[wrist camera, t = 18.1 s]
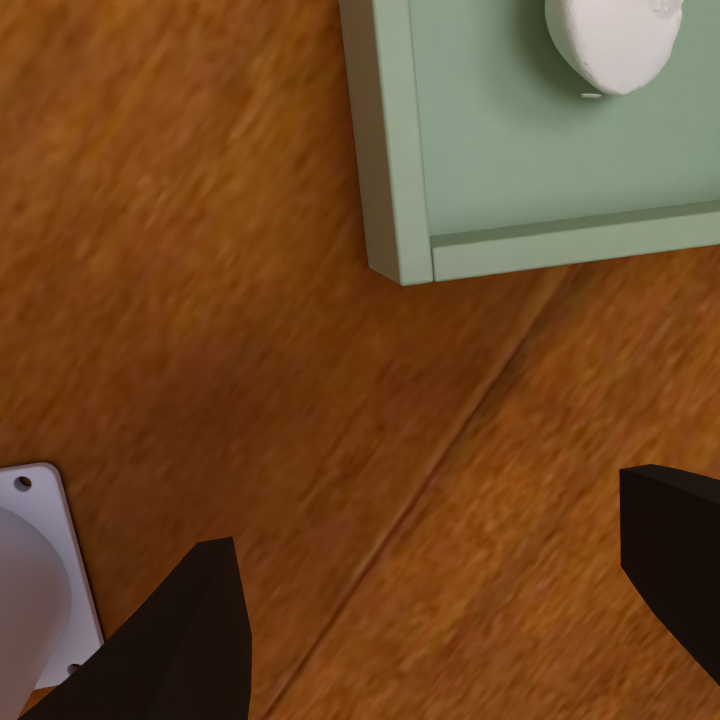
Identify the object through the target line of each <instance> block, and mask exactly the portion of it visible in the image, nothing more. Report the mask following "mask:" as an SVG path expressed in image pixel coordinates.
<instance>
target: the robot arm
mask: <svg viewBox="0 0 720 720" xmlns="http://www.w3.org/2000/svg"><path fill="white" fill-rule="evenodd" d="M619 473H620V537H621V567H622V568H623V570H624V571H625V573H626V574H627V576H628V577H629V579H630V580H631V582H632V583H633V585H634V586H635V588H636V589H637V591H638V592H639V594H640V595H641V596H642V598H643V599H644V601H645V602H646V603H647V605H648V606H649V607H650V609H651V610H652V612H653V613H654V614H655V615H656V616H657V617H658V619H659V620H660V621H661V622H662V623H663V624H664V625H665V627H666V628H667V629H668V630H669V631H670V632H671V633H672V634H673V635H674V637H675V638H676V639H677V640H678V641H679V642H680V643H681V644H682V645H683V647H684V648H685V649H686V650H687V651H688V652H689V653H690V654H691V655H692V656H693V657H694V659H695V660H696V661H697V662H698V663H699V664H700V665H701V666H702V667H703V668H704V669H705V671H706V672H707V673H708V674H709V675H710V676H711V677H712V678H713V679H714V680H715V681H716V683H717V684H718V685H719V686H720V480H717V479H713V478H710V477H706V476H702V475H699V474H695V473H691V472H687V471H683V470H679V469H675V468H670V467H665V466H660V465H653V464H648V465H642V466H637V467H631V468H625V469H619ZM20 476H25V477H27V478H29V479H30V481H31V483H32V484H31V486H25V485H23V484H22V483H21V482H20V480H19V477H20ZM72 664H79V665H81V666H80V667H79V668H76V667H74V666H73V665H72ZM251 670H252V634H251V629H250V624H249V619H248V614H247V609H246V604H245V599H244V593H243V588H242V583H241V578H240V573H239V568H238V563H237V558H236V553H235V548H234V543H233V538H232V537H227V538H221V539H215V540H210V541H204V542H198V543H197V544H196V545H195V546H194V547H193V548H192V549H191V550H190V551H189V552H188V553H187V554H186V555H185V557H184V558H183V559H182V560H181V561H180V562H179V564H178V565H177V566H176V567H175V568H174V569H173V570H172V572H171V573H170V574H169V575H168V576H167V577H166V579H165V580H164V581H163V582H162V583H161V584H160V585H159V586H158V587H157V589H156V590H155V591H154V592H153V593H152V594H151V595H150V596H149V597H148V599H147V600H146V601H145V602H144V603H143V604H142V605H141V606H140V607H139V609H138V610H137V611H136V612H135V613H134V614H133V615H132V616H131V617H130V618H129V619H128V620H127V621H126V622H125V623H124V624H123V625H122V626H121V627H120V628H119V629H118V630H117V631H116V632H115V633H114V634H113V635H112V636H111V637H110V638H109V639H108V640H107V641H106V642H105V643H104V640H103V636H102V632H101V629H100V625H99V621H98V617H97V613H96V610H95V606H94V602H93V598H92V594H91V591H90V587H89V583H88V579H87V576H86V572H85V568H84V564H83V560H82V557H81V553H80V549H79V545H78V541H77V538H76V534H75V530H74V526H73V523H72V519H71V515H70V511H69V507H68V504H67V500H66V496H65V492H64V488H63V485H62V481H61V477H60V474H59V472H58V470H57V468H55V467H54V466H53V465H51V464H49V463H44V462H39V463H33V464H26V465H19V466H13V467H6V468H0V720H247V719H248V712H249V704H250V696H251ZM56 685H58V686H57V687H56V688H55V689H54V690H53V691H51V692H50V693H49V694H48V695H47V696H45V697H44V698H43V699H42V700H41V701H39V702H38V703H37V704H36V705H35V706H33V707H32V708H31V709H30V710H28V711H27V712H26V713H25V714H23V715H22V716H21V717H20V718H18V717H19V715H20V713H21V711H22V710H23V708H24V706H25V704H26V702H27V700H28V699H29V697H30V695H31V693H32V691H33V690H34V689H40V688H45V687H51V686H56Z"/></svg>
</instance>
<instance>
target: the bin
mask: <svg viewBox="0 0 720 720" xmlns="http://www.w3.org/2000/svg"><path fill="white" fill-rule="evenodd" d="M339 9H340V17H341V26H342V35H343V44H344V53H345V62H346V71H347V79H348V88H349V97H350V106H351V115H352V124H353V132H354V141H355V150H356V159H357V168H358V177H359V186H360V194H361V203H362V212H363V221H364V230H365V239H366V247H367V256H368V265H369V268H370V269H372V270H374V271H376V272H378V273H380V274H382V275H383V276H385V277H387V278H389V279H391V280H392V281H394V282H396V283H398V284H400V285H402V286H409V285H417V284H424V283H430V282H432V281H435V282H441V281H448V280H456V279H463V278H471V277H478V276H486V275H493V274H501V273H508V272H516V271H523V270H531V269H538V268H546V267H553V266H561V265H568V264H576V263H583V262H591V261H598V260H606V259H613V258H621V257H628V256H636V255H643V254H651V253H658V252H666V251H673V250H681V249H688V248H696V247H703V246H711V245H718V244H720V0H684V1H683V3H682V6H681V10H682V19H681V22H680V23H681V25H680V28H679V31H678V34H677V37H676V39H675V41H674V43H673V48H672V51H671V54H670V57H669V59H668V61H667V63H666V64H665V65H664V67H663V68H662V69H661V71H660V73H659V74H658V75H657V76H655V78H653V79H652V80H651V81H650V82H649V83H648V84H647V85H646V86H644V87H643V88H641V89H640V90H637V91H634V92H632V93H630V94H628V95H625V96H611V95H608V94H606V93H604V92H602V91H600V90H598V89H597V88H596V87H594V86H593V85H592V84H590V83H589V82H588V81H587V80H585V79H584V78H583V77H582V76H581V75H580V74H579V73H577V72H576V71H575V70H574V69H573V68H572V67H571V66H570V65H569V63H568V62H567V61H566V60H565V59H564V58H563V56H562V55H561V54H560V52H559V51H558V50H557V48H556V46H555V45H554V42H553V40H552V38H551V36H550V33H549V31H548V28H547V23H546V19H545V0H339ZM581 94H598V95H601V96H600V97H598V98H596V99H593V97H592V98H588V97H585V98H584V97H582V96H583V95H581Z"/></svg>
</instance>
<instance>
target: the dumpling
mask: <svg viewBox="0 0 720 720" xmlns="http://www.w3.org/2000/svg"><path fill="white" fill-rule="evenodd" d="M683 1H684V0H545V19H546V23H547V28H548V31H549V33H550V36H551V38H552V40H553V42H554V45H555V46H556V48H557V50H558V51H559V52H560V54H561V55H562V56H563V58H564V59H565V60H566V61H567V62H568V63H569V65H570V66H571V67H572V68H573V69H574V70H575V71H576V72H577V73H579V74H580V75H581V76H582V77H583V78H584V79H585V80H587V81H588V82H589V83H590V84H592V85H593V86H594V87H596V88H597V89H598V90H600V91H602V92H604V93H606V94H608V95H611V96H625V95H628V94H630V93H632V92H634V91H637V90H640V89H641V88H643V87H644V86H646V85H647V84H648V83H649V82H650V81H651V80H652V79H653V78H655V76H657V75H658V74H659V73H660V71H661V69H662V68H663V67H664V65H665V64H666V63H667V61H668V59H669V57H670V54H671V51H672V48H673V43H674V41H675V39H676V37H677V34H678V31H679V28H680V25H681V23H680V22H681V19H682V10H681V6H682V3H683ZM581 95H583V96H582V97H584V98H585V97H588V98H592V97H593V99H596V98H598V97H600V96H601V95H598V94H581Z"/></svg>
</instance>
